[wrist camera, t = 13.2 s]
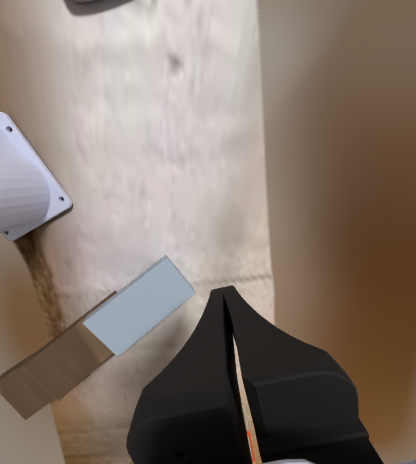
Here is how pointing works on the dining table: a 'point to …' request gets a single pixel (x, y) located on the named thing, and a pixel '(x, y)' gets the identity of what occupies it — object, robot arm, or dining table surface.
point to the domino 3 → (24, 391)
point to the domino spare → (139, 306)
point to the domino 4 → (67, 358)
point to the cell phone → (83, 1)
